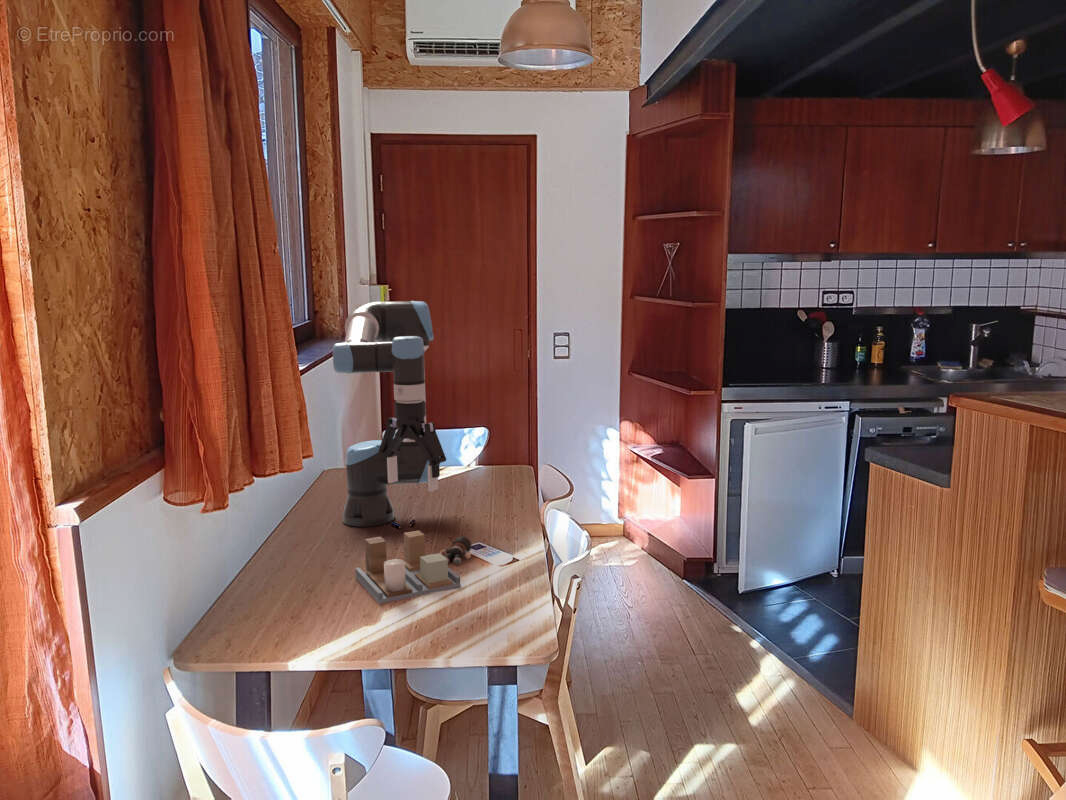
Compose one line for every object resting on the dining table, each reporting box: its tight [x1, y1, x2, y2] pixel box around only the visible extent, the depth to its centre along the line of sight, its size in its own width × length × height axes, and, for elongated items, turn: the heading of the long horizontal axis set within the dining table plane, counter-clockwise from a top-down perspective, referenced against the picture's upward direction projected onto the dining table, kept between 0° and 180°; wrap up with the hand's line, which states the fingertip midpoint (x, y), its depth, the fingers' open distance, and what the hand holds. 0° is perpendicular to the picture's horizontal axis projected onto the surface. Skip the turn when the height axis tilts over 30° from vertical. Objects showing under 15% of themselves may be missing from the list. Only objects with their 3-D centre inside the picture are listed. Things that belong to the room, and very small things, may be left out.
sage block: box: [420, 552, 449, 584], centre depth 199 cm, size 5×5×5 cm
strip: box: [364, 536, 412, 598], centre depth 199 cm, size 19×6×8 cm, turn 28°
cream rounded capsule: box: [384, 558, 406, 592], centre depth 193 cm, size 5×5×6 cm
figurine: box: [439, 535, 472, 566], centre depth 218 cm, size 8×5×10 cm
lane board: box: [354, 529, 462, 605], centre depth 201 cm, size 19×20×9 cm
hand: (412, 486), depth 205 cm, fingers open, 13 cm apart
